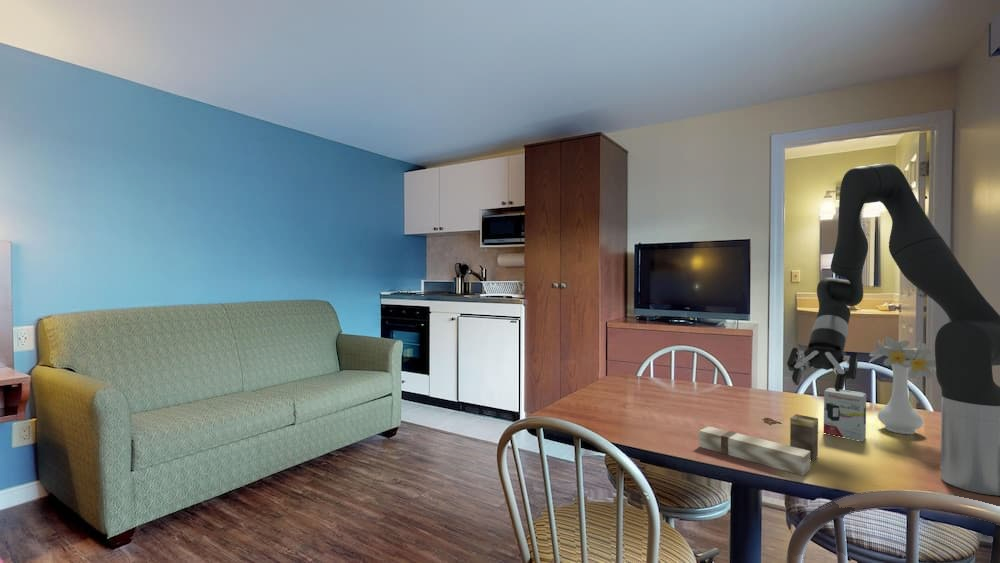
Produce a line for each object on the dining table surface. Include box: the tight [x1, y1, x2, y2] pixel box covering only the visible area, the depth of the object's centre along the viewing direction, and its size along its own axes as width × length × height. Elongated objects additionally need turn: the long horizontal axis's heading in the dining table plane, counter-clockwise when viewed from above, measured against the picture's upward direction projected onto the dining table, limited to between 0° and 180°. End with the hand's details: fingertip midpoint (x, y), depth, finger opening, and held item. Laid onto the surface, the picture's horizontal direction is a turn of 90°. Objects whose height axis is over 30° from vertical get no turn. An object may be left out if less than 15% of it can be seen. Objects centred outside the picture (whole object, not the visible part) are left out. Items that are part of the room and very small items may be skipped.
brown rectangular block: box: [789, 413, 819, 462], centre depth 105 cm, size 4×4×9 cm
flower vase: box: [868, 336, 936, 435], centre depth 123 cm, size 13×18×25 cm
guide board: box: [698, 425, 811, 477], centre depth 105 cm, size 22×5×4 cm, turn 42°
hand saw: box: [761, 417, 783, 426], centre depth 140 cm, size 24×5×1 cm, turn 9°
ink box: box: [822, 387, 867, 442], centre depth 119 cm, size 9×5×12 cm, turn 44°
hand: (816, 386), depth 112 cm, fingers open, 8 cm apart
